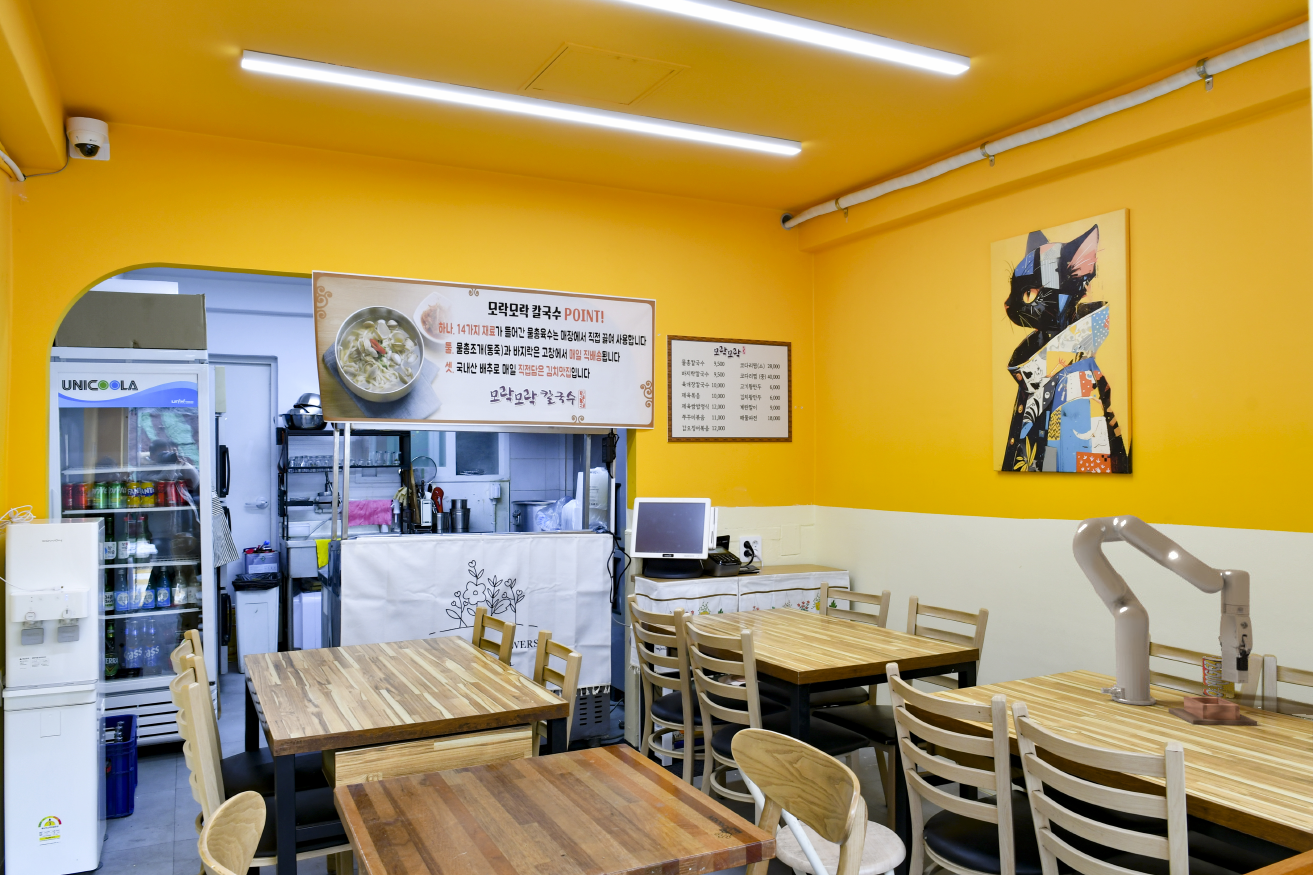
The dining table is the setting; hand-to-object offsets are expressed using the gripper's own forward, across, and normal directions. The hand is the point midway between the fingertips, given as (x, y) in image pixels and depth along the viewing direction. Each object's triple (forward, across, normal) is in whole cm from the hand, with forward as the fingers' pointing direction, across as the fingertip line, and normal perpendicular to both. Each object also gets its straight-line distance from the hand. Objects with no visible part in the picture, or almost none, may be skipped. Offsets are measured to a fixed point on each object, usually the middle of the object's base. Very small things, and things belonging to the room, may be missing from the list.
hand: (1234, 667), depth 280 cm
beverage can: (+13, +20, -6) cm, 24 cm away
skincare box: (+5, 0, 0) cm, 5 cm away
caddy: (+13, -11, +13) cm, 22 cm away
